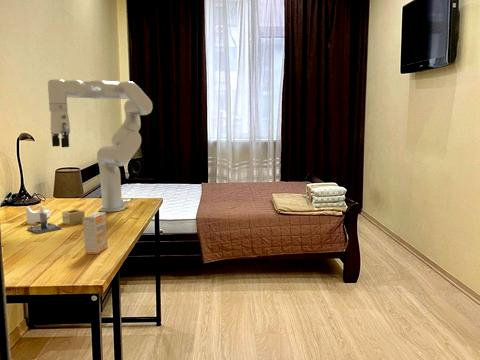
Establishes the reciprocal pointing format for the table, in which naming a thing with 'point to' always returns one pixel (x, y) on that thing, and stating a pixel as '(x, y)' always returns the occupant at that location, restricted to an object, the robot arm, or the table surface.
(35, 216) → the bracket
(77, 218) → the collar
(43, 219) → the peg base plate
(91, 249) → the supplement box
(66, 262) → the table surface
